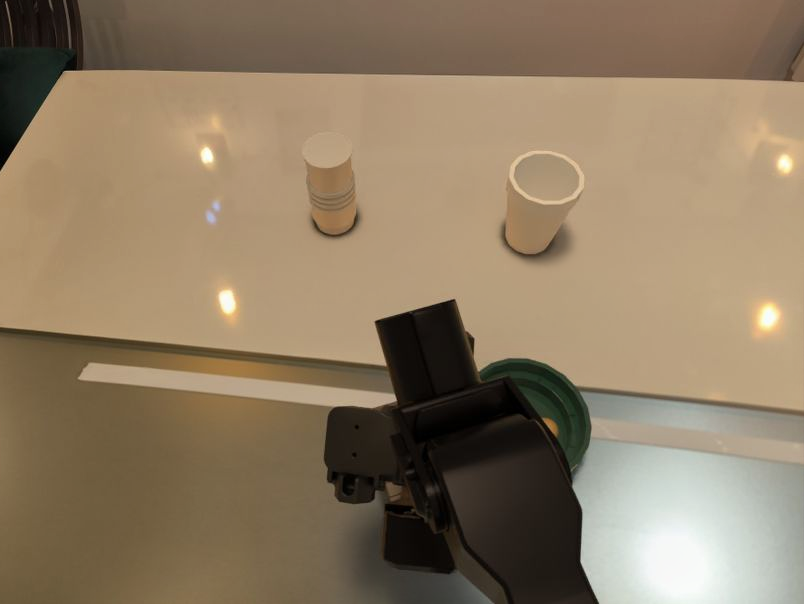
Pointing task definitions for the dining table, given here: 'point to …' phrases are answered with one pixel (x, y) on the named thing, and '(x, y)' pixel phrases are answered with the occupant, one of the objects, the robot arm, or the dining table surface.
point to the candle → (330, 181)
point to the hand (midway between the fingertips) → (411, 433)
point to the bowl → (549, 401)
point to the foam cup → (540, 198)
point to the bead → (552, 426)
